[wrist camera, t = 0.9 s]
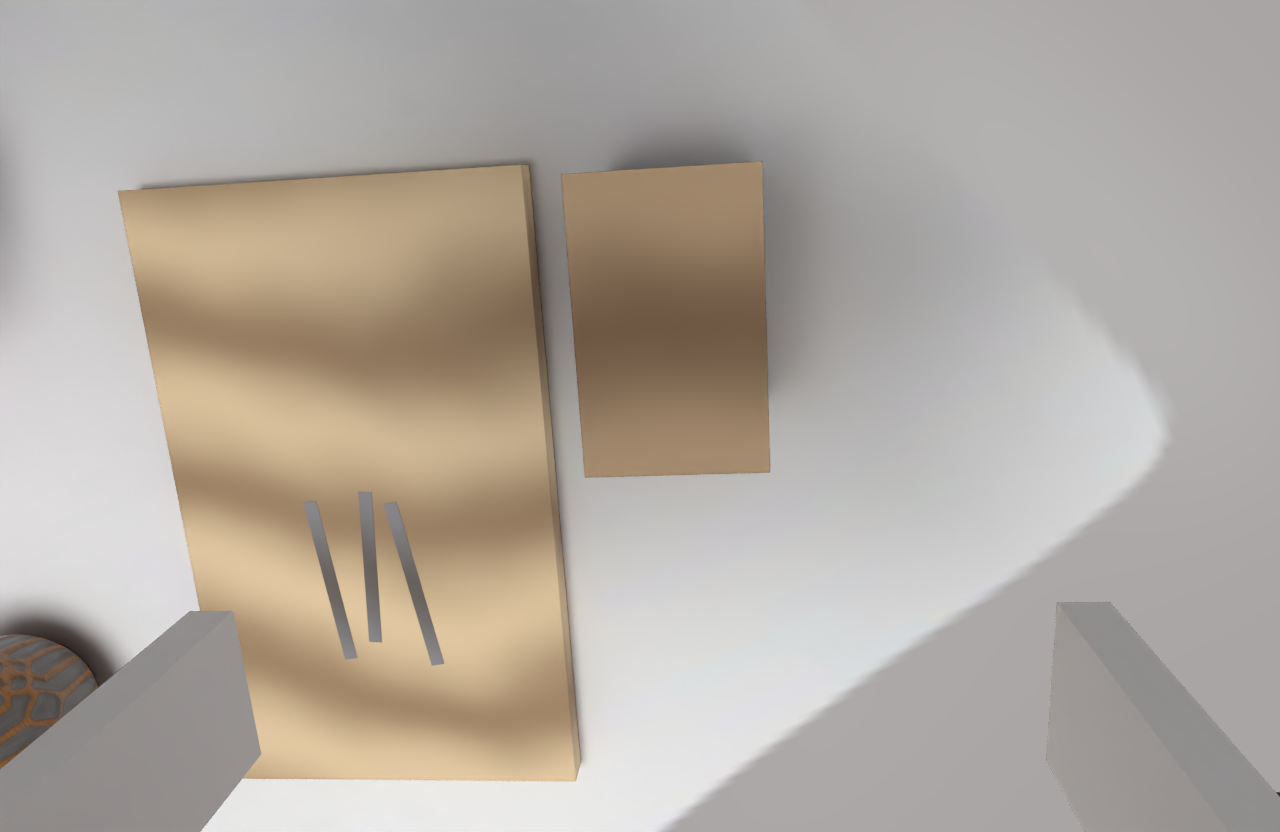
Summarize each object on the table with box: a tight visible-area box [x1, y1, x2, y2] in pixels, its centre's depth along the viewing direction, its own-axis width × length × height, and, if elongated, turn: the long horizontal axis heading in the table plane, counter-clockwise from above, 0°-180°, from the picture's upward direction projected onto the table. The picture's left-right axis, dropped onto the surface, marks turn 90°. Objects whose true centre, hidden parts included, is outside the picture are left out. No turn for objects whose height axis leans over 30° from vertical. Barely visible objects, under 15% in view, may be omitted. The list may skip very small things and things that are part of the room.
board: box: [118, 165, 581, 781], centre depth 33 cm, size 23×14×1 cm, turn 3°
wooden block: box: [561, 161, 770, 478], centre depth 27 cm, size 8×5×8 cm, turn 3°
